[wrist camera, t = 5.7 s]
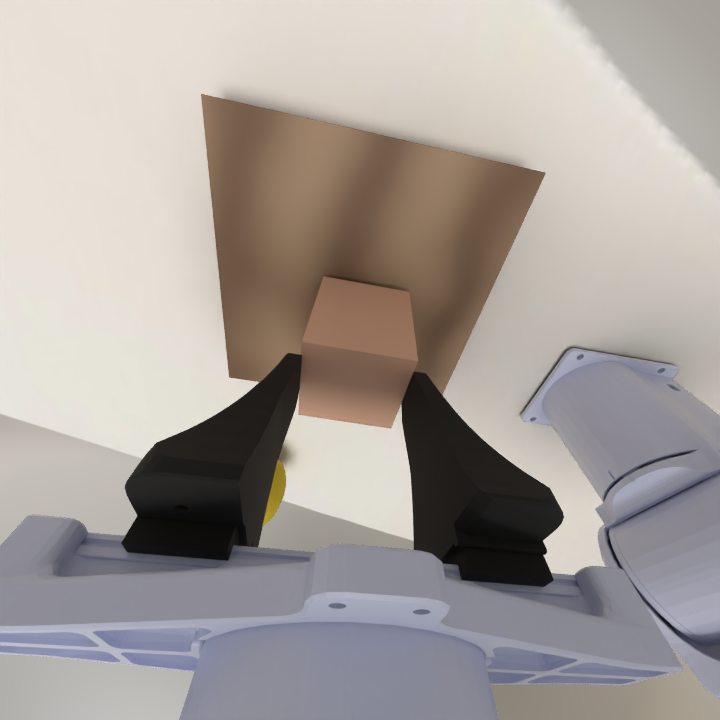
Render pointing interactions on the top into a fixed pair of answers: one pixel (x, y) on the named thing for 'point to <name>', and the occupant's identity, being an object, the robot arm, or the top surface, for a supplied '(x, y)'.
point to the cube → (357, 353)
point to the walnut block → (351, 229)
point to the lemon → (276, 492)
